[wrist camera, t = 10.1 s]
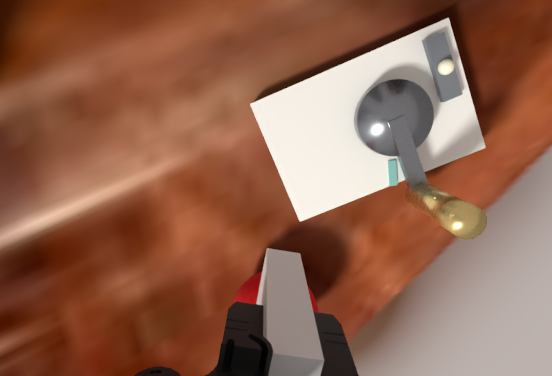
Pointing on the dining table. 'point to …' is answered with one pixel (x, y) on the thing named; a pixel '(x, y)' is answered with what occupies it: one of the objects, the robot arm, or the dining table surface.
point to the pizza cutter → (412, 150)
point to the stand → (340, 121)
